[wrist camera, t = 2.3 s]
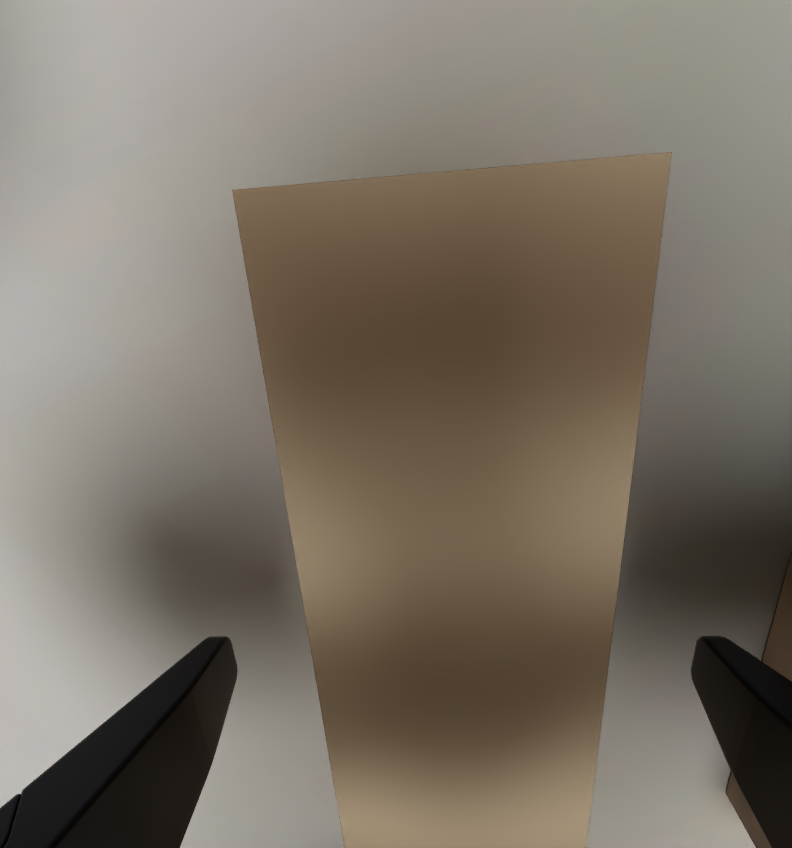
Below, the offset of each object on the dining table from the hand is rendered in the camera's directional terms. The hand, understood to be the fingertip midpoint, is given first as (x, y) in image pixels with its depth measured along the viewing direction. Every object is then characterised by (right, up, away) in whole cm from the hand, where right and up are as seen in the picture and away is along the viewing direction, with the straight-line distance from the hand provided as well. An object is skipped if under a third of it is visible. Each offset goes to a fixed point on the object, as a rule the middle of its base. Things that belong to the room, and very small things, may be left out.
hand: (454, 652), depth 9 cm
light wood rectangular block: (0, +1, +3) cm, 3 cm away
